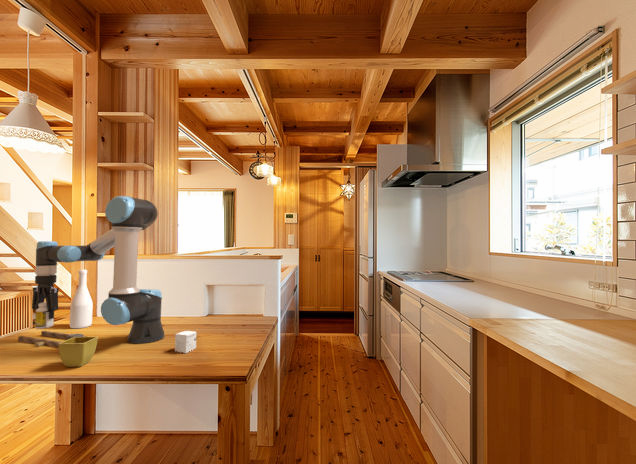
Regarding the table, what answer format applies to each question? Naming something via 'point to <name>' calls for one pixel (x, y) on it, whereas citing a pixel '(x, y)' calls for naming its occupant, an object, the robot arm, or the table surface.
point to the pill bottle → (41, 316)
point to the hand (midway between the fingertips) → (44, 325)
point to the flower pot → (77, 350)
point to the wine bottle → (81, 304)
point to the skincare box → (185, 341)
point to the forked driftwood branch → (43, 342)
